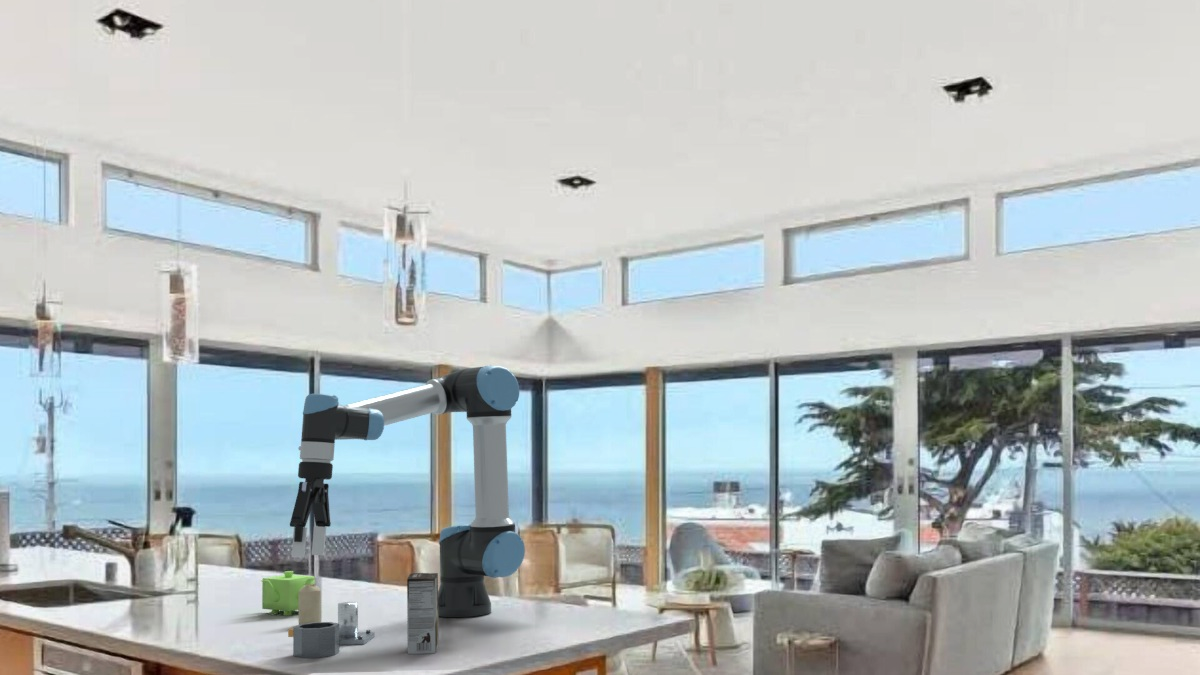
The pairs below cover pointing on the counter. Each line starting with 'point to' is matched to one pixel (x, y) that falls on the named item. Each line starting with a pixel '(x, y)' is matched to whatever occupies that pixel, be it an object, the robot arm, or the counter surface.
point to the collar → (315, 639)
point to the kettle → (283, 592)
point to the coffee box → (422, 613)
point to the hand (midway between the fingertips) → (308, 556)
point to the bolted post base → (351, 625)
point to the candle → (309, 604)
